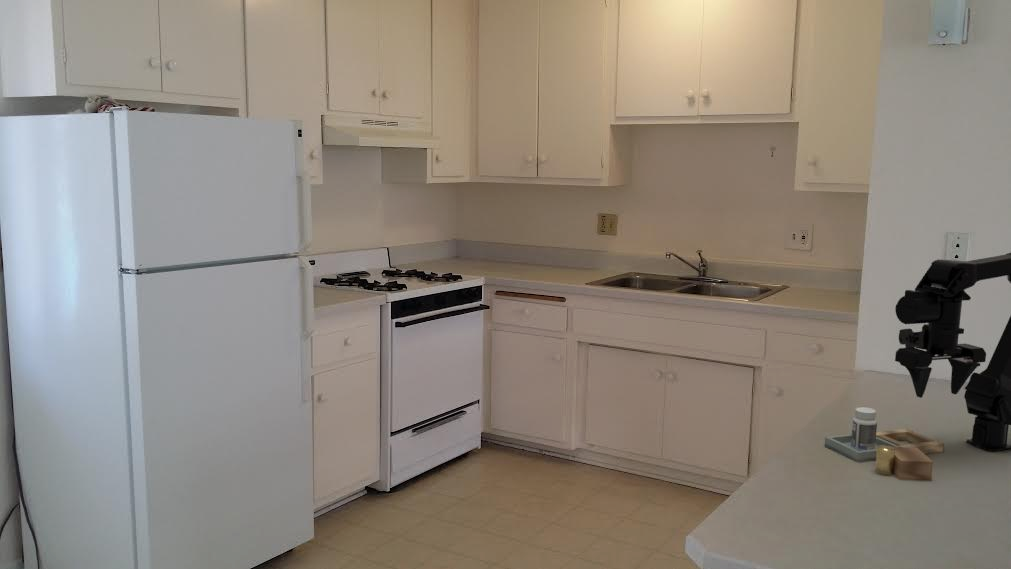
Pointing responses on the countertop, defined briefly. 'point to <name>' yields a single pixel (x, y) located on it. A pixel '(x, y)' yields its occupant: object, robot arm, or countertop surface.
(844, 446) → the tray
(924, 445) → the socket collar
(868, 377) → the countertop surface
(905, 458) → the brown cardboard box
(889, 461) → the bench dog
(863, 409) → the pill bottle
